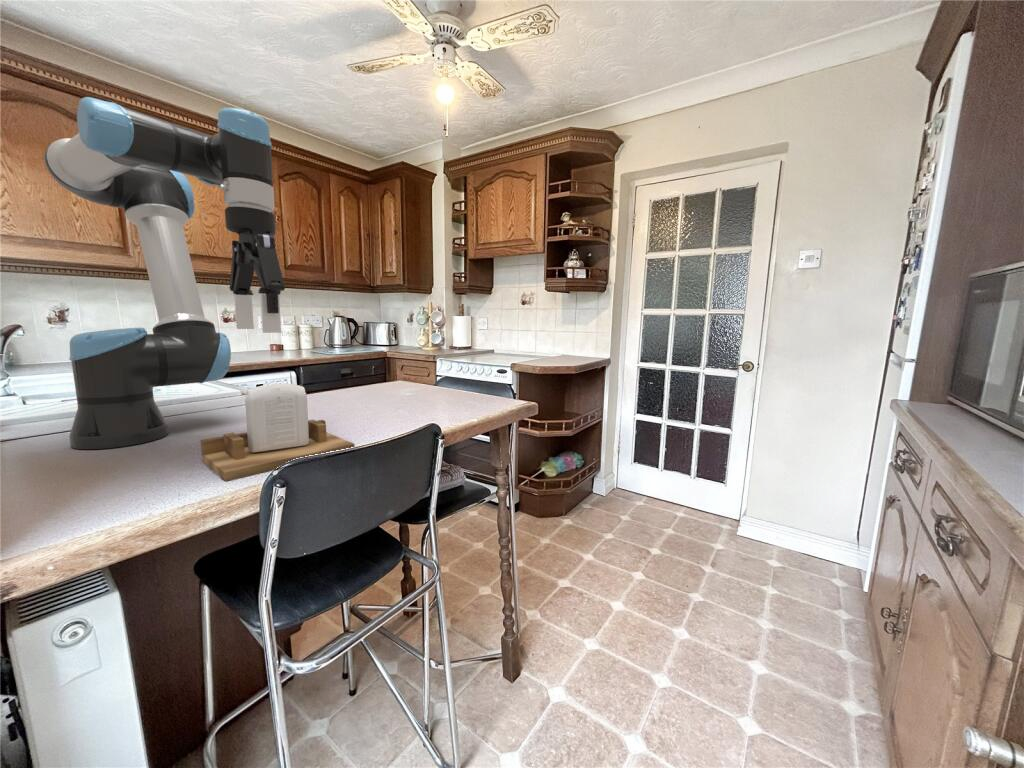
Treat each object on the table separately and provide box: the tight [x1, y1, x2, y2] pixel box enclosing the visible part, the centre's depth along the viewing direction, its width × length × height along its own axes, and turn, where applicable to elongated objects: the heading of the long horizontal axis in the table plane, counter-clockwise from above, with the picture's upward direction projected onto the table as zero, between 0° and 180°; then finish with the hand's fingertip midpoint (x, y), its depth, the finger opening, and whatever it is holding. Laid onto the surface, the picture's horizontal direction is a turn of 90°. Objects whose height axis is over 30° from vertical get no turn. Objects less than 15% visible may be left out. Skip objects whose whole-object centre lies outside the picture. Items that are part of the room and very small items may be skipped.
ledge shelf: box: [200, 419, 355, 482], centre depth 79 cm, size 14×22×5 cm, turn 138°
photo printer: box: [244, 382, 309, 453], centre depth 78 cm, size 10×4×12 cm, turn 128°
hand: (258, 330), depth 77 cm, fingers open, 13 cm apart
